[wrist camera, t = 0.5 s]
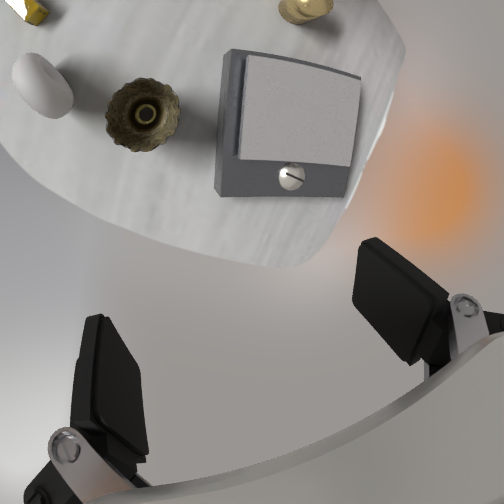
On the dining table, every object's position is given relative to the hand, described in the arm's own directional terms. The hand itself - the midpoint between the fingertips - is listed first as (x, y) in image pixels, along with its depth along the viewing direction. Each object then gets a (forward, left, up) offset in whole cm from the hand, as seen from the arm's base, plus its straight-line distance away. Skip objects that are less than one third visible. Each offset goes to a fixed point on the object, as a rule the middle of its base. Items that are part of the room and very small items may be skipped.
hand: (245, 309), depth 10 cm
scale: (-5, +14, -28) cm, 32 cm away
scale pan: (-7, +14, -23) cm, 28 cm away
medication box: (-26, -24, -29) cm, 46 cm away
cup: (-6, -4, -29) cm, 30 cm away
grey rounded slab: (-11, -16, -29) cm, 35 cm away
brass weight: (-23, +14, -29) cm, 39 cm away
